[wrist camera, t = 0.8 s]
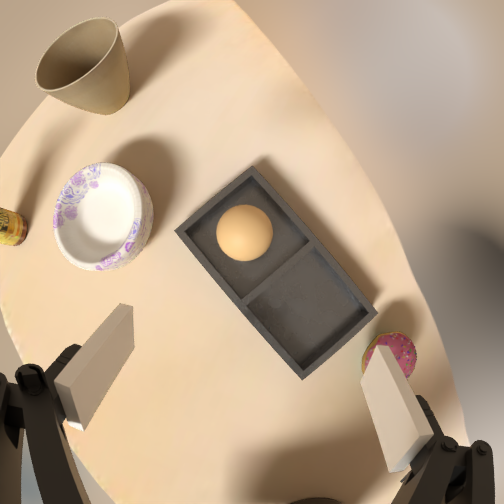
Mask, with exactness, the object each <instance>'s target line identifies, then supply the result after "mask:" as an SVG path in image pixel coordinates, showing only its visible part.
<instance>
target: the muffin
mask: <svg viewBox="0 0 504 504" xmlns="http://www.w3.org/2000/svg"><path fill="white" fill-rule="evenodd" d="M216 235H217V241H218V243H219V246H220V247H221V249H222V250H223V252H224V253H225V254H227V255H228V256H229V257H231V258H233V259H235V260H239V261H250V260H254V259H256V258H258V257H260V256H261V255H263V254H264V253H265V252H266V251H267V249H268V248H269V246H270V244H271V241H272V237H273V229H272V224H271V222H270V220H269V218H268V216H267V215H266V214H265V213H264V212H263V211H262V210H260V209H259V208H257V207H255V206H251V205H238V206H235V207H232V208H230V209H229V210H227V211H226V212H225V213H224V214H223V215H222V217H221V218H220V220H219V222H218V225H217V230H216Z"/></svg>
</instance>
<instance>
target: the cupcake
mask: <svg viewBox="0 0 504 504" xmlns="http://www.w3.org/2000/svg"><path fill="white" fill-rule="evenodd" d="M376 345H383V346H389V348H390V350H391V351H392V353H393V355H394V357H395V359H396V360H397V362H398V364H399V366H400V368H401V370H402V372H403V373H404V375H405V377H406V379H407V378H408V377H409V376H410V374H411V373H412V372H413V370H414V367H415V363H416V360H417V359H416V357H417V356H416V354H417V353H416V350H415V346H414V344H413V343H412V341H411V340H410V339H409V338H408V337H407V336H406V335H405V334H403V333H402V332H388V333H384V334H380V335H378V336H377V337H376V338H375V339H374V340H373V341H372V343H371V344H370V345H369V346H368V348H367V349H366V351H365V353H364V355H363V358H362V372H363V374H364V373H365V370H366V368H367V366H368V364H369V361H370V359H371V357H372V355H373V352H374V350H375V348H376Z"/></svg>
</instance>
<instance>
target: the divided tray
mask: <svg viewBox="0 0 504 504" xmlns="http://www.w3.org/2000/svg"><path fill="white" fill-rule="evenodd" d="M238 205H251V206H255V207H257V208H259V209H260V210H262V211H263V212H264V213H265V214H266V215H267V216H268V218H269V220H270V222H271V224H272V229H273V237H272V241H271V244H270V246H269V248H268V249H267V251H266V252H265V253H264V254H263V255H261V256H260V257H258V258H256V259H254V260H250V261H239V260H235V259H233V258H231V257H229V256H228V255H227V254H225V253H224V252H223V250H222V249H221V247H220V246H219V243H218V241H217V235H216V230H217V225H218V222H219V220H220V218H221V217H222V215H223V214H224V213H225V212H226V211H227V210H229V209H230V208H232V207H235V206H238ZM174 231H175V232H176V233H177V235H178V236H179V237H180V239H181V240H182V241H183V242H184V243H185V245H186V246H187V247H188V248H189V250H190V251H191V252H192V253H193V255H194V256H195V257H196V258H197V260H198V261H199V262H200V263H201V264H202V266H203V267H204V268H205V269H206V271H207V272H208V273H209V274H210V275H211V277H212V278H213V279H214V280H215V281H216V283H217V284H218V285H219V286H220V287H221V289H222V290H223V291H224V292H225V293H226V294H227V296H228V297H229V298H230V299H231V300H232V302H233V303H234V304H235V305H236V306H237V307H238V309H239V310H240V311H241V312H242V313H243V314H244V316H245V317H246V318H247V319H248V320H249V321H250V323H251V324H252V325H253V326H254V327H255V328H256V329H257V331H258V332H259V333H260V334H261V335H262V336H263V337H264V339H265V340H266V341H267V342H268V343H269V344H270V345H271V346H272V348H273V349H274V350H275V351H276V352H277V353H278V354H279V355H280V356H281V358H282V359H283V360H284V361H285V362H286V363H287V364H288V365H289V366H290V368H291V369H292V370H293V371H294V372H295V373H296V374H297V375H298V376H299V377H300V378H301V380H303V379H304V378H306V377H307V376H308V375H309V374H311V373H312V372H313V371H314V370H316V369H317V368H318V367H319V366H320V365H322V364H323V363H324V362H325V361H326V360H327V359H329V358H330V357H331V356H332V355H333V354H334V353H336V352H337V351H338V350H339V349H340V348H341V347H342V346H344V345H345V344H346V343H347V342H348V341H349V340H350V339H351V338H352V337H354V336H355V335H356V334H357V333H358V332H359V331H360V330H361V329H362V328H363V327H364V326H365V325H366V324H367V323H369V322H370V321H371V320H372V319H373V318H374V317H375V316H376V315H377V314H378V312H377V311H376V310H375V308H374V307H373V306H372V305H371V303H370V302H369V301H368V300H367V298H366V297H365V296H364V295H363V293H362V292H361V291H360V290H359V288H358V287H357V286H356V285H355V283H354V282H353V281H352V280H351V278H350V277H349V276H348V275H347V273H346V272H345V271H344V270H343V269H342V267H341V266H340V265H339V264H338V262H337V261H336V260H335V259H334V258H333V256H332V255H331V254H330V253H329V252H328V250H327V249H326V248H325V247H324V246H323V245H322V243H321V242H320V241H319V240H318V239H317V237H316V236H315V235H314V234H313V233H312V232H311V230H310V229H309V228H308V227H307V226H306V225H305V224H304V222H303V221H302V220H301V219H300V218H299V217H298V216H297V214H296V213H295V212H294V211H293V210H292V209H291V208H290V206H289V205H288V204H287V203H286V202H285V201H284V200H283V199H282V197H281V196H280V195H279V194H278V193H277V192H276V191H275V190H274V189H273V188H272V186H271V185H270V184H269V183H268V182H267V181H266V180H265V179H264V178H263V177H262V175H261V174H260V173H259V172H258V171H257V170H256V169H255V168H254V167H253V166H251V167H250V168H249V169H248V170H246V171H245V172H244V173H243V174H241V175H240V176H239V177H238V178H236V179H235V180H234V181H233V182H231V183H230V184H229V185H228V186H226V187H225V188H224V189H223V190H222V191H220V192H219V193H218V194H217V195H215V196H214V197H213V198H212V199H211V200H209V201H208V202H207V203H206V204H205V205H204V206H202V207H201V208H200V209H199V210H198V211H196V212H195V213H194V214H193V215H192V216H191V217H189V218H188V219H187V220H186V221H185V222H184V223H182V224H181V225H180V226H179V227H178V228H177V229H176V230H174Z"/></svg>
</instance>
